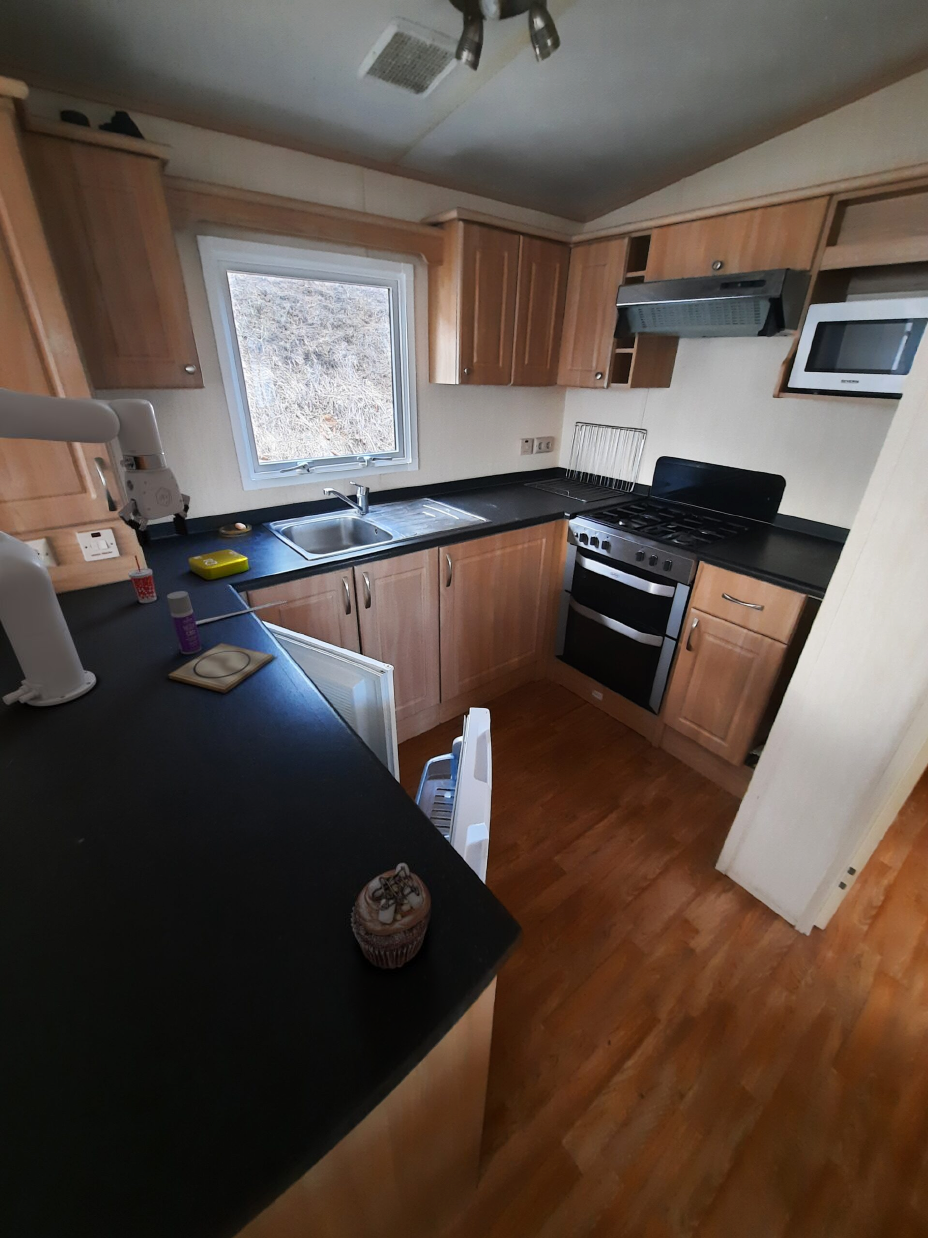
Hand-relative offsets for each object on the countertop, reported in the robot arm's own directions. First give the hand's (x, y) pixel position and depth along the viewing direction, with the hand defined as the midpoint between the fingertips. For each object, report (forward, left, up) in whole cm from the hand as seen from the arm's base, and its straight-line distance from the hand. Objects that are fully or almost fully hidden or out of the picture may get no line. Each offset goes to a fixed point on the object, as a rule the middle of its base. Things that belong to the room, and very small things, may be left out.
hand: (165, 540), depth 114 cm
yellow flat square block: (+46, +35, -28) cm, 64 cm away
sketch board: (-4, -13, -28) cm, 32 cm away
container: (0, 0, -28) cm, 29 cm away
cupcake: (-46, -80, -28) cm, 97 cm away
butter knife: (+21, +4, -28) cm, 36 cm away
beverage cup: (+18, +36, -28) cm, 49 cm away
